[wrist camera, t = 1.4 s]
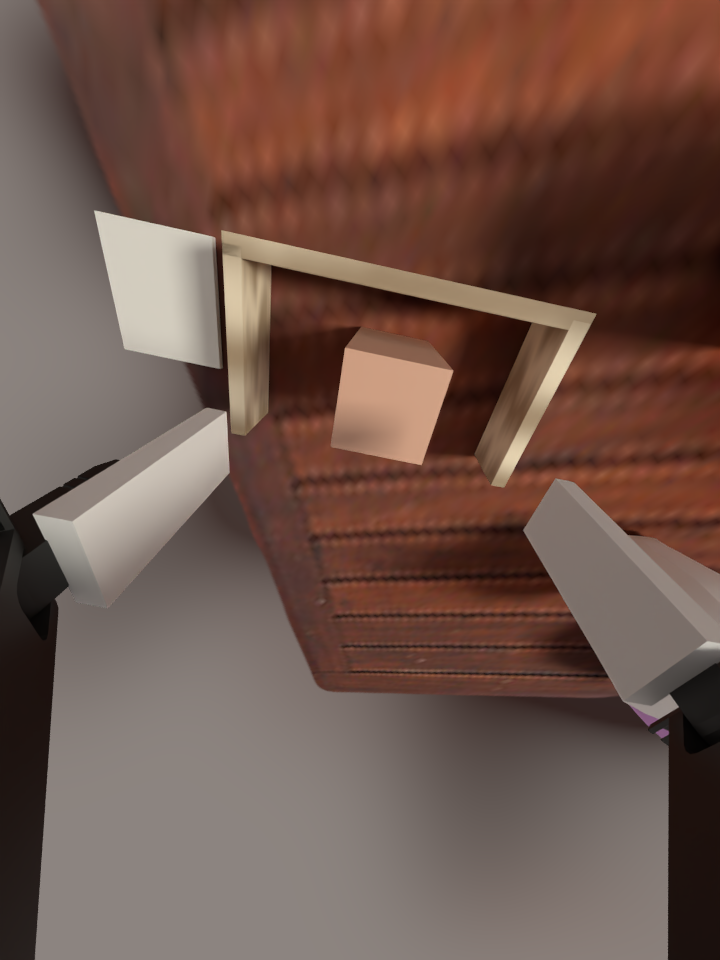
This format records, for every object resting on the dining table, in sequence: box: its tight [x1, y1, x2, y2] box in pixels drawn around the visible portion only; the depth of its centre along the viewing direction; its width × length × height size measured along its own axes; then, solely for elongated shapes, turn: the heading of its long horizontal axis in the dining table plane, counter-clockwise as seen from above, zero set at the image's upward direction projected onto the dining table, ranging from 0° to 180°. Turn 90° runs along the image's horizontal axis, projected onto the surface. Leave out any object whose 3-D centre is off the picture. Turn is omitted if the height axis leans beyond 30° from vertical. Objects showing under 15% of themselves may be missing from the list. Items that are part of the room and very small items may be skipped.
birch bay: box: [221, 230, 596, 488], centre depth 25 cm, size 14×24×6 cm, turn 79°
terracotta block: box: [331, 327, 453, 465], centre depth 23 cm, size 6×6×12 cm
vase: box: [606, 535, 720, 719], centre depth 28 cm, size 14×14×25 cm
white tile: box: [94, 211, 223, 369], centre depth 26 cm, size 10×9×1 cm
